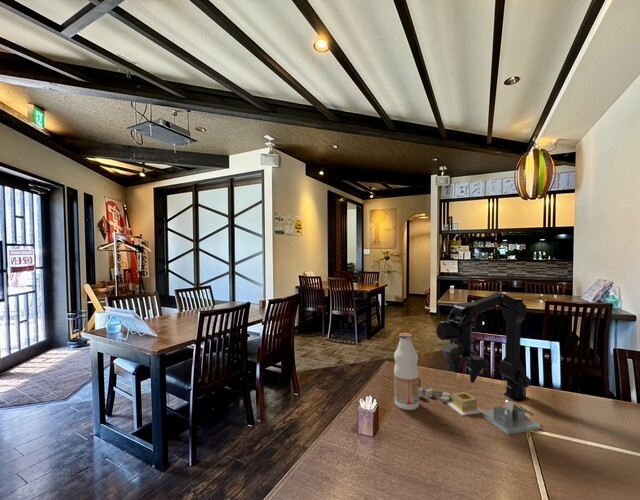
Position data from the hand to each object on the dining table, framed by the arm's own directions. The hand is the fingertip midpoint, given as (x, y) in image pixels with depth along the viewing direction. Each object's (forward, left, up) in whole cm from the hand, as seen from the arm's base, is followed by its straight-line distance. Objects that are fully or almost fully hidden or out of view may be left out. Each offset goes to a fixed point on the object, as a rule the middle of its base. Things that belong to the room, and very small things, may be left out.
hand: (464, 377), depth 118 cm
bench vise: (-9, +12, -12) cm, 19 cm away
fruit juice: (+20, -8, -12) cm, 25 cm away
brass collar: (0, 0, -11) cm, 11 cm away
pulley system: (+9, -18, -13) cm, 24 cm away
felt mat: (0, 0, -12) cm, 12 cm away
